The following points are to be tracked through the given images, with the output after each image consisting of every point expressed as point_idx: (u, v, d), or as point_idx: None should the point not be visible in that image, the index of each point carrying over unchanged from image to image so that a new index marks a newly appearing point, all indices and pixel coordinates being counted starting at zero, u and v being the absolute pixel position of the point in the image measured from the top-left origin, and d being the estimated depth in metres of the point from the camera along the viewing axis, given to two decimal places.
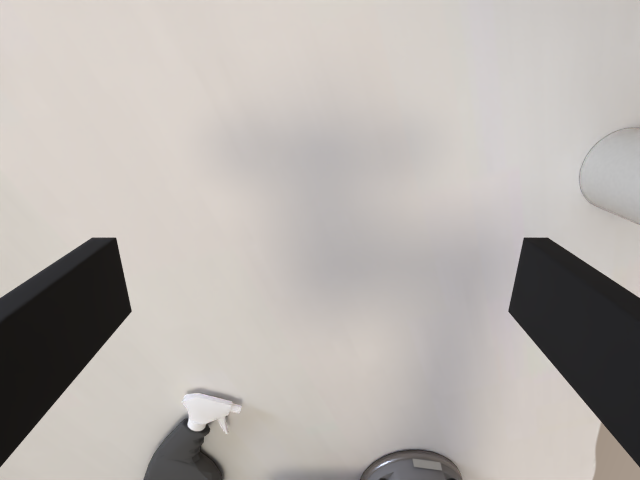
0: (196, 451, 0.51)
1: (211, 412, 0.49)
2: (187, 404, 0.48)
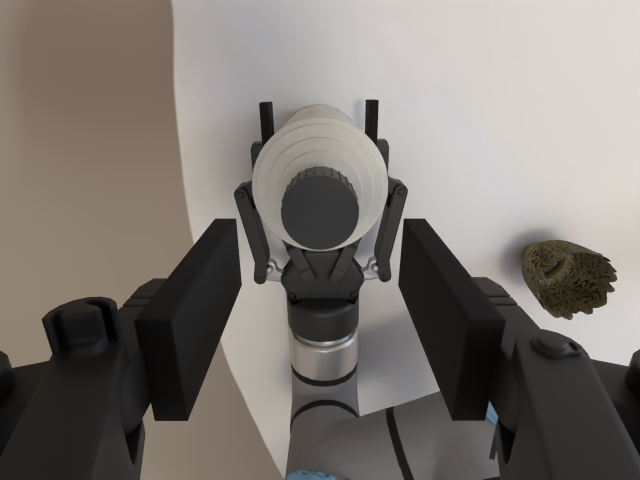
0: None
1: None
2: None
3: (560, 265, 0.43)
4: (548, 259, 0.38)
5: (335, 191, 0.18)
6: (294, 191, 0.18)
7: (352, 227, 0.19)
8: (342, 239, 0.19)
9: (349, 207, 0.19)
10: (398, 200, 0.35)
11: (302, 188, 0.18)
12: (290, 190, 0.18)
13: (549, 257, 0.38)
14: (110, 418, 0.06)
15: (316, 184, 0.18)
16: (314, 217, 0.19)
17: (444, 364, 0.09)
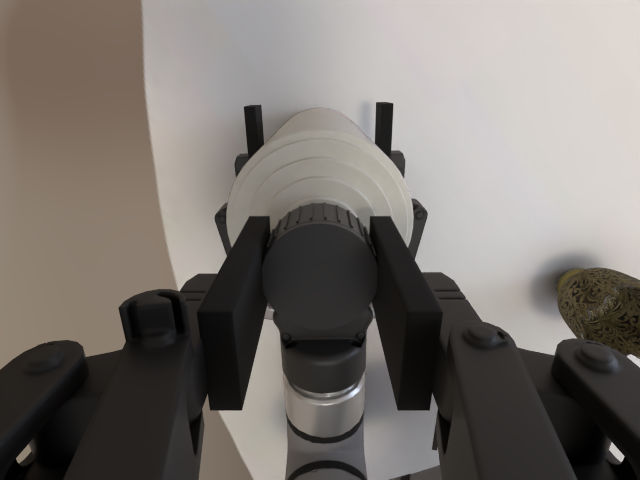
0: None
1: None
2: None
3: None
4: (595, 293, 0.31)
5: (343, 247, 0.12)
6: (280, 247, 0.12)
7: (368, 298, 0.13)
8: (353, 314, 0.13)
9: (364, 270, 0.12)
10: (415, 225, 0.29)
11: (292, 242, 0.12)
12: (274, 245, 0.12)
13: (595, 291, 0.32)
14: (178, 409, 0.06)
15: (314, 236, 0.12)
16: (311, 284, 0.12)
17: (393, 356, 0.10)
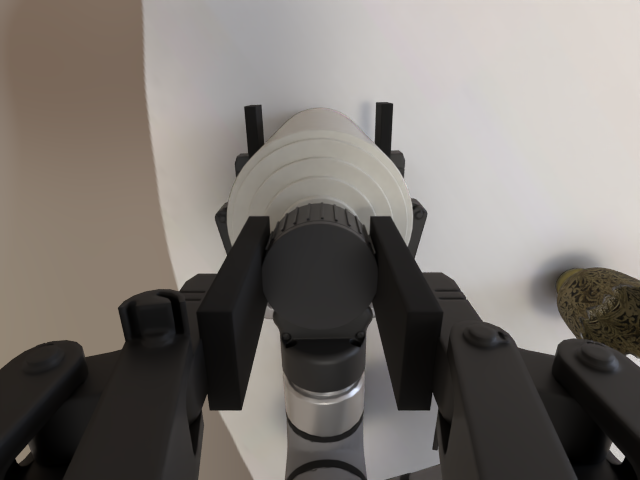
0: None
1: None
2: None
3: None
4: (594, 293, 0.31)
5: (286, 255, 0.12)
6: (281, 308, 0.13)
7: (348, 236, 0.12)
8: (366, 252, 0.12)
9: (314, 237, 0.12)
10: (415, 225, 0.29)
11: (277, 298, 0.13)
12: (279, 313, 0.13)
13: (594, 291, 0.32)
14: (178, 409, 0.06)
15: (273, 279, 0.12)
16: (323, 287, 0.12)
17: (393, 356, 0.10)
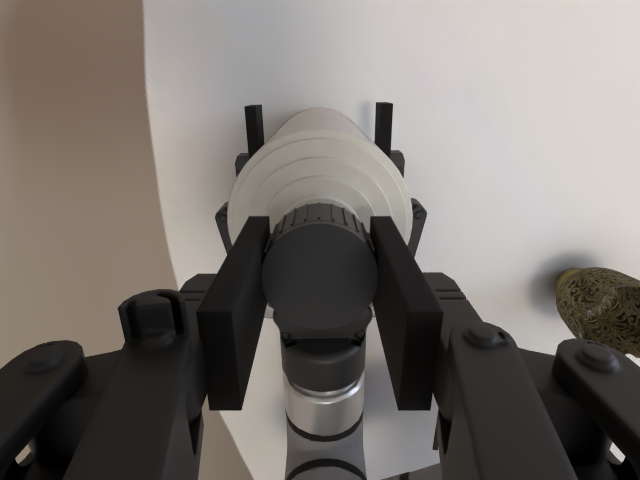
0: None
1: None
2: None
3: None
4: (593, 293, 0.32)
5: (289, 305, 0.13)
6: (346, 317, 0.13)
7: (275, 250, 0.12)
8: (294, 234, 0.12)
9: (274, 279, 0.12)
10: (415, 225, 0.29)
11: (334, 318, 0.13)
12: (351, 319, 0.13)
13: (594, 291, 0.32)
14: (178, 409, 0.06)
15: (313, 319, 0.13)
16: (329, 277, 0.12)
17: (394, 356, 0.10)
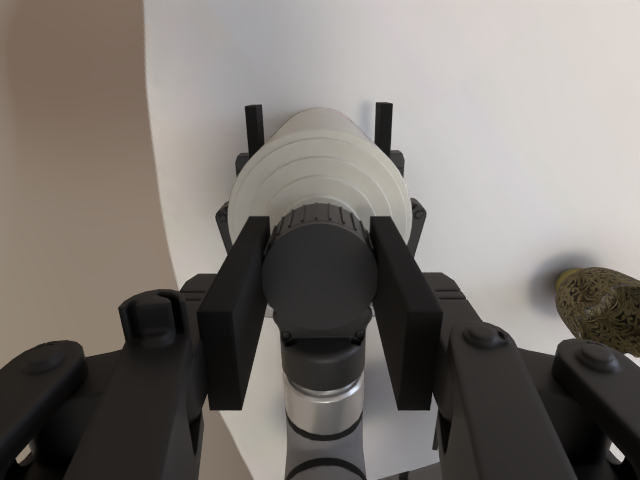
0: None
1: None
2: None
3: None
4: (592, 292, 0.32)
5: (343, 309, 0.13)
6: (367, 259, 0.12)
7: (283, 313, 0.13)
8: (269, 295, 0.13)
9: (314, 318, 0.13)
10: (414, 224, 0.29)
11: (367, 271, 0.12)
12: (371, 255, 0.12)
13: (593, 290, 0.32)
14: (178, 409, 0.06)
15: (364, 290, 0.12)
16: (318, 271, 0.12)
17: (393, 356, 0.10)
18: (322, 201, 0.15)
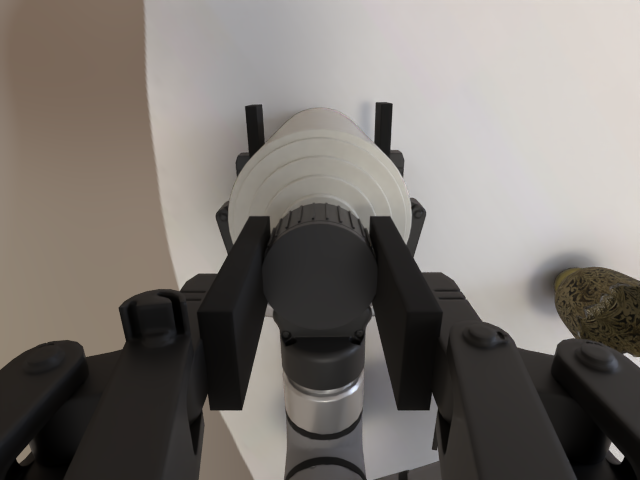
0: None
1: None
2: None
3: None
4: (591, 292, 0.32)
5: (357, 261, 0.12)
6: (302, 233, 0.12)
7: (352, 316, 0.13)
8: (330, 324, 0.13)
9: (363, 290, 0.12)
10: (414, 224, 0.29)
11: (316, 235, 0.12)
12: (297, 229, 0.12)
13: (592, 290, 0.32)
14: (179, 409, 0.06)
15: (338, 239, 0.12)
16: (310, 280, 0.12)
17: (393, 356, 0.10)
18: (322, 200, 0.15)
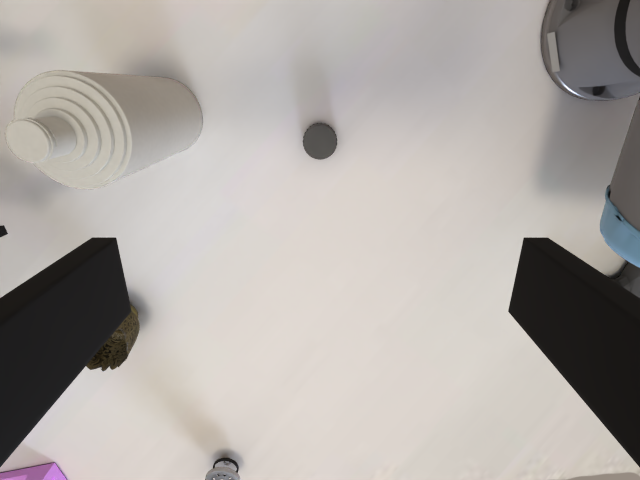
0: None
1: None
2: None
3: (121, 331, 0.53)
4: None
5: (315, 130, 0.43)
6: (305, 145, 0.44)
7: (333, 134, 0.43)
8: (335, 141, 0.43)
9: (324, 130, 0.43)
10: None
11: (306, 141, 0.43)
12: (304, 146, 0.44)
13: None
14: None
15: (308, 135, 0.43)
16: (319, 145, 0.44)
17: None
18: (80, 135, 0.26)
